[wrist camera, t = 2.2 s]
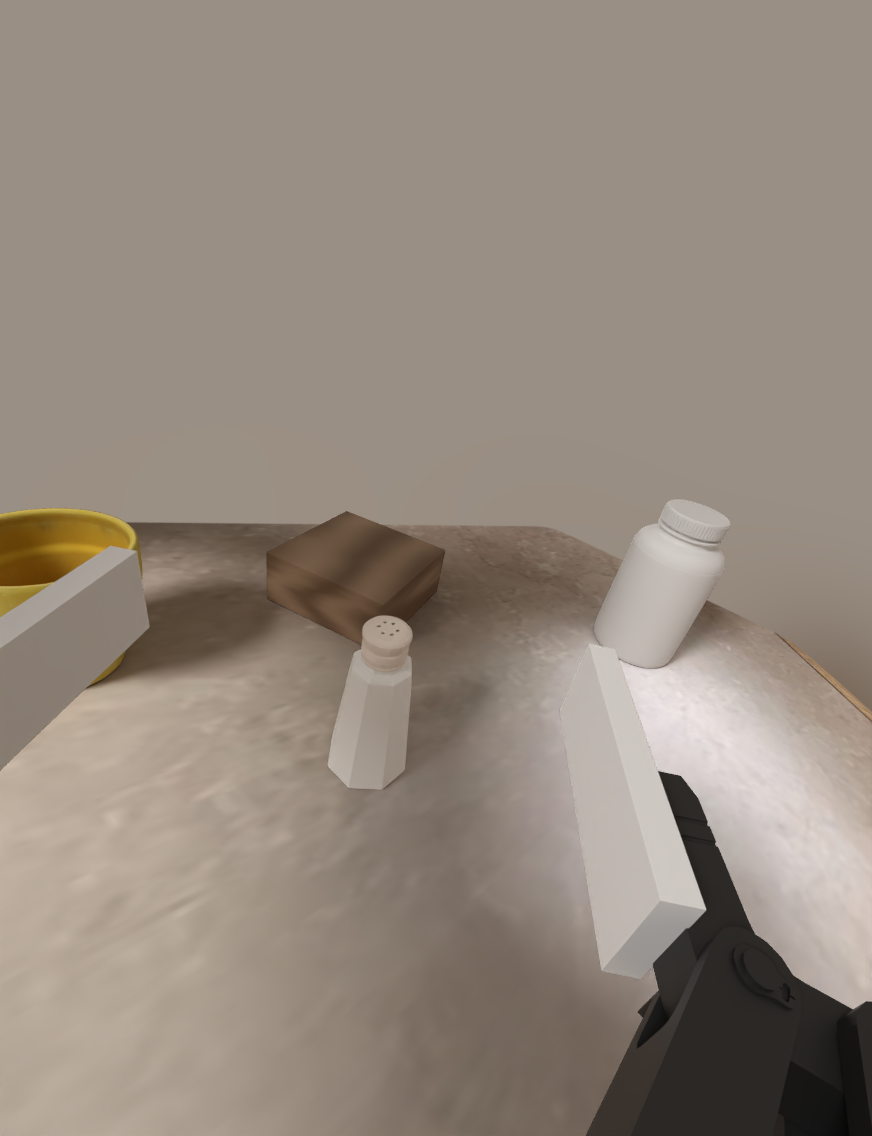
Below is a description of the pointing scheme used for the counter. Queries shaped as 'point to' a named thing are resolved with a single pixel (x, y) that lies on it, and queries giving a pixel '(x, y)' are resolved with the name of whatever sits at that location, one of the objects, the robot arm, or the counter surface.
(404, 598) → the walnut base
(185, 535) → the counter surface
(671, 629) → the pill bottle
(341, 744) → the pepper shaker
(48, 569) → the plant pot
